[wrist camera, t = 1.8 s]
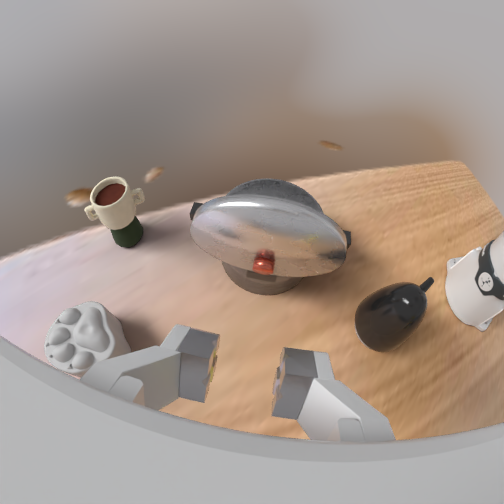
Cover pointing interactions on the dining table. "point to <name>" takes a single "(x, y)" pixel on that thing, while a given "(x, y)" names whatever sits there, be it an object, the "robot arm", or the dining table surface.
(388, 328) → the pump dispenser
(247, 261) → the pressure cooker lid
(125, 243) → the character mug
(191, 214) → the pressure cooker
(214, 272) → the dining table surface
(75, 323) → the grey paw print block
